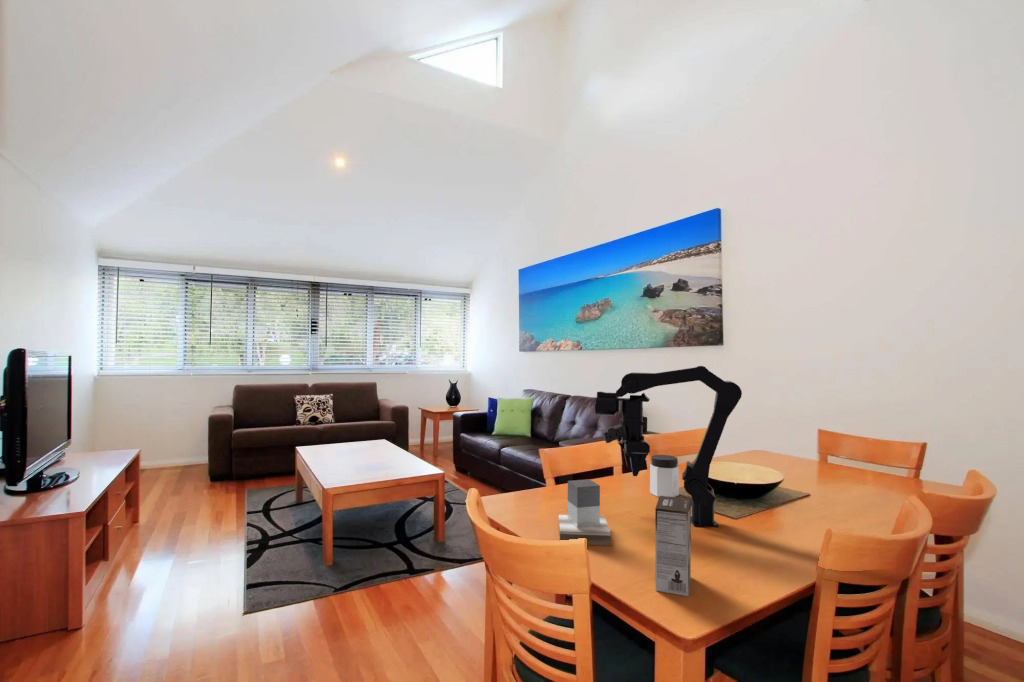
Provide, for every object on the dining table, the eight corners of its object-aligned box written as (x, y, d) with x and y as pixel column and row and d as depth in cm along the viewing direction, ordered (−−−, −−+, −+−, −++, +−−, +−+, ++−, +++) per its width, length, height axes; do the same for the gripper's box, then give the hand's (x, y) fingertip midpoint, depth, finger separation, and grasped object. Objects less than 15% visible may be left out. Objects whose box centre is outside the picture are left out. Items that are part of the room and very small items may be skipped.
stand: (610, 545, 115) (610, 532, 115) (559, 543, 116) (560, 531, 116) (604, 527, 127) (604, 515, 127) (558, 525, 128) (558, 514, 128)
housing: (589, 518, 125) (589, 479, 125) (599, 526, 119) (599, 485, 120) (567, 520, 123) (567, 480, 124) (577, 528, 118) (577, 487, 118)
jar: (669, 500, 151) (669, 461, 151) (645, 494, 157) (646, 457, 157) (682, 494, 157) (682, 457, 158) (660, 489, 163) (660, 453, 163)
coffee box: (658, 571, 102) (658, 494, 102) (691, 576, 99) (691, 498, 100) (654, 591, 93) (654, 507, 94) (690, 597, 91) (690, 511, 91)
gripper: (600, 412, 148) (599, 463, 147) (607, 420, 129) (607, 479, 129) (637, 412, 147) (636, 464, 147) (650, 421, 128) (650, 481, 128)
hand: (632, 471), depth 138 cm, fingers open, 9 cm apart
